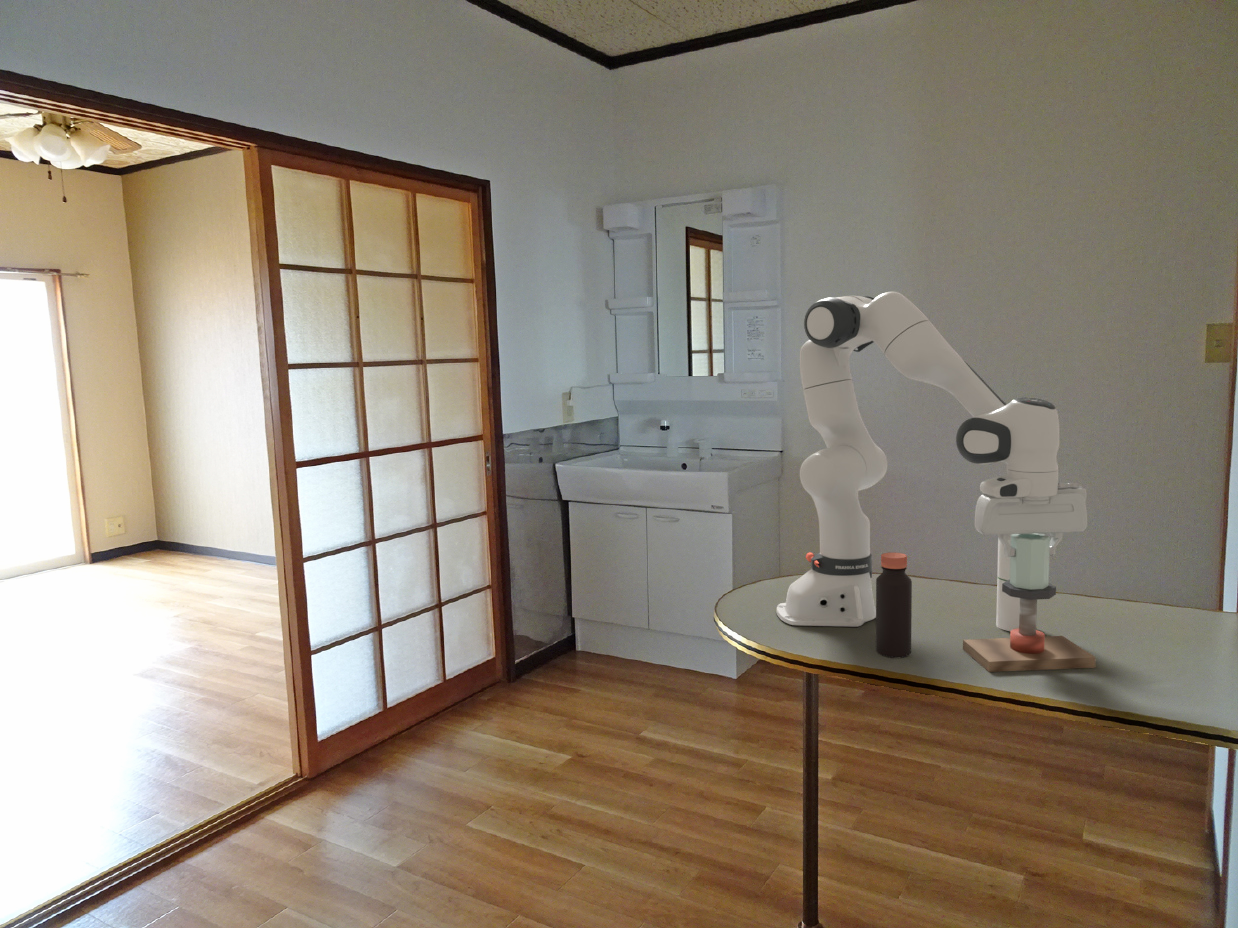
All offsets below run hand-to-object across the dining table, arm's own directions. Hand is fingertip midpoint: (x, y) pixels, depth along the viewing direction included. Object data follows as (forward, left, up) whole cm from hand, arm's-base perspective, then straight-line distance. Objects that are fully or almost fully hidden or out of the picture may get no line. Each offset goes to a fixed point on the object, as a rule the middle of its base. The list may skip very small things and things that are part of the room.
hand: (1029, 555), depth 165 cm
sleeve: (0, 0, -6) cm, 6 cm away
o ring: (0, 0, -7) cm, 7 cm away
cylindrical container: (+6, +18, -21) cm, 28 cm away
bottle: (-24, +6, -21) cm, 32 cm away
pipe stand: (0, 0, -20) cm, 20 cm away
